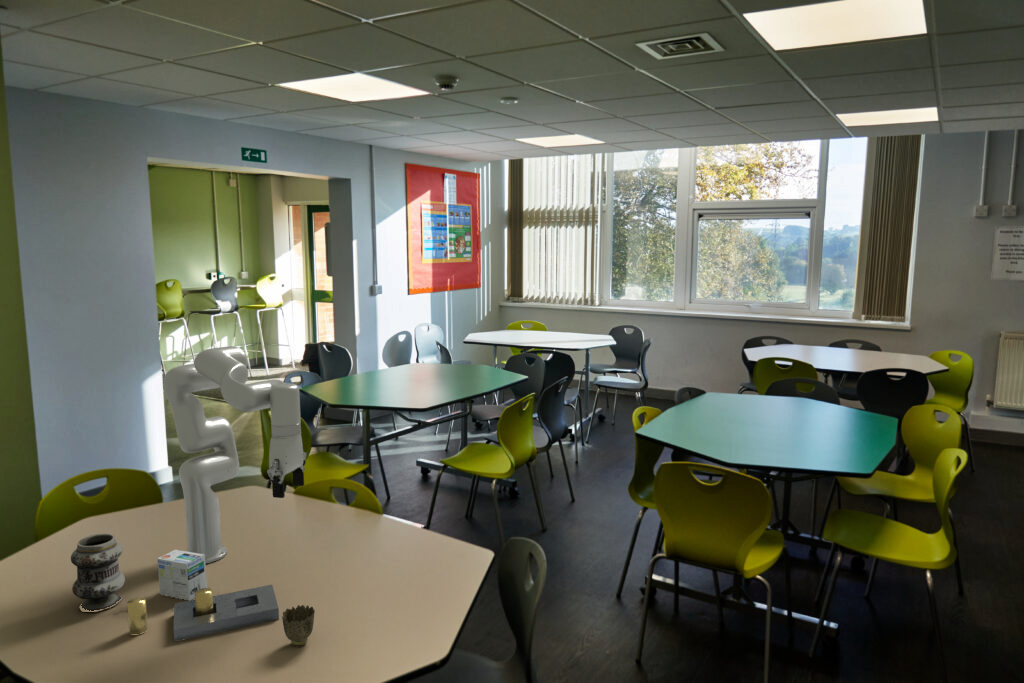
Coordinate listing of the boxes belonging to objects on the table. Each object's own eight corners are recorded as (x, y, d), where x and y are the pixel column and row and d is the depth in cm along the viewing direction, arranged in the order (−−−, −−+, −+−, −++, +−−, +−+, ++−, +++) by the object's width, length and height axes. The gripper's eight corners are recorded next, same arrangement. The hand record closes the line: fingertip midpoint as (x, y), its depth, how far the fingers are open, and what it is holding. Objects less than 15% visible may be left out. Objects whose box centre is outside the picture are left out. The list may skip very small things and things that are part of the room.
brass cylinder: (130, 629, 169) (127, 599, 168) (148, 625, 171) (146, 595, 170) (128, 637, 166) (126, 606, 165) (147, 633, 167) (145, 602, 166)
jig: (175, 614, 176) (174, 603, 176) (272, 594, 186) (272, 584, 186) (174, 641, 164) (173, 630, 163) (279, 619, 174) (278, 607, 174)
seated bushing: (196, 619, 174) (194, 589, 173) (213, 615, 176) (211, 586, 175) (196, 627, 170) (195, 596, 169) (214, 623, 172) (212, 593, 171)
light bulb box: (208, 590, 189) (206, 553, 188) (189, 602, 183) (187, 563, 182) (178, 584, 193) (175, 548, 191) (158, 595, 186) (156, 558, 185)
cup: (287, 636, 166) (286, 605, 165) (318, 634, 167) (317, 603, 166) (279, 653, 159) (278, 621, 158) (312, 651, 159) (310, 619, 158)
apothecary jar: (115, 613, 177) (110, 547, 175) (65, 617, 175) (59, 550, 173) (133, 591, 189) (129, 528, 187) (86, 594, 187) (81, 531, 185)
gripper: (291, 421, 192) (293, 480, 194) (254, 437, 175) (257, 501, 177) (315, 423, 190) (317, 482, 192) (280, 438, 174) (283, 503, 176)
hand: (288, 491), depth 185 cm, fingers open, 9 cm apart
